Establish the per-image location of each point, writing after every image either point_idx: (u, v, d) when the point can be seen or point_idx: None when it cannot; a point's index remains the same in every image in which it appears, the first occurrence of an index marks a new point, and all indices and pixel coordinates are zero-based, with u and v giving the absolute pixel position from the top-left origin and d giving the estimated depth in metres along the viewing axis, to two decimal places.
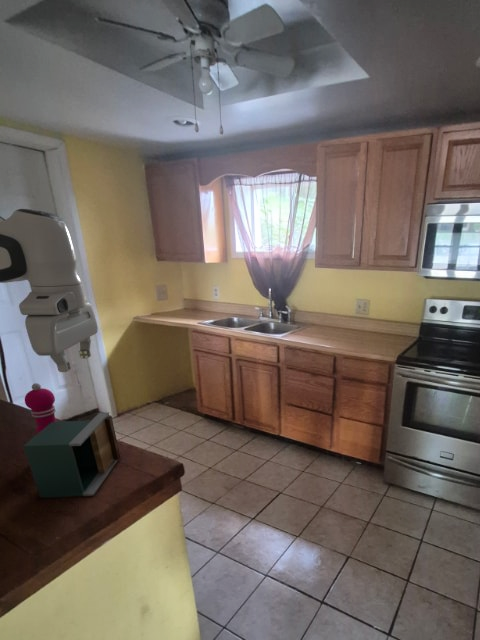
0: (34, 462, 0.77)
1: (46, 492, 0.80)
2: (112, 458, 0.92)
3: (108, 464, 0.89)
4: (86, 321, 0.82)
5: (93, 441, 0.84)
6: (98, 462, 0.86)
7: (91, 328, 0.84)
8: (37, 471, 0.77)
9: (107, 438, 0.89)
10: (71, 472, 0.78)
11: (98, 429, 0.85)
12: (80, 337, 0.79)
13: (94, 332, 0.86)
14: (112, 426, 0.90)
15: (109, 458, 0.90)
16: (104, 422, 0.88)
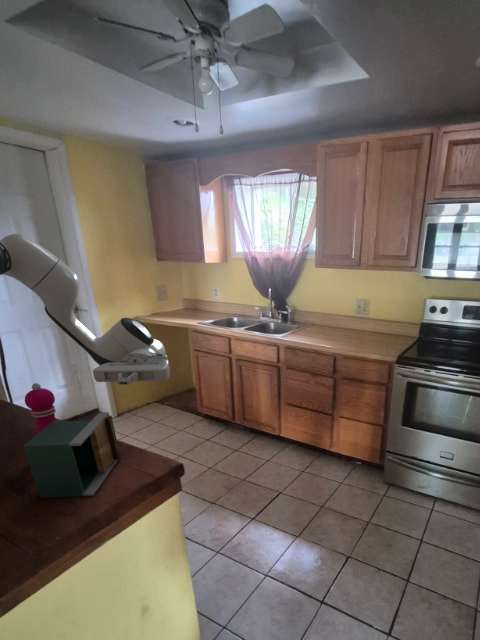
0: (34, 462, 0.77)
1: (46, 492, 0.80)
2: (112, 458, 0.92)
3: (108, 464, 0.89)
4: None
5: (93, 441, 0.84)
6: (98, 462, 0.86)
7: None
8: (37, 471, 0.77)
9: (107, 438, 0.89)
10: (71, 472, 0.78)
11: (98, 429, 0.85)
12: None
13: (103, 381, 1.04)
14: (112, 426, 0.90)
15: (109, 458, 0.90)
16: (104, 422, 0.88)
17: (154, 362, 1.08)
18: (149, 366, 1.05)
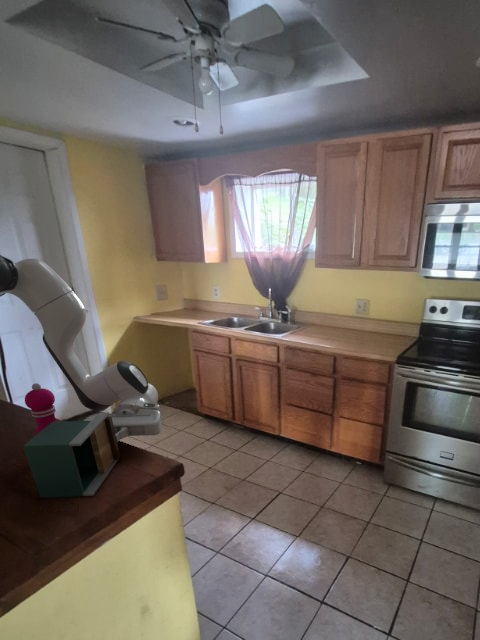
0: (34, 462, 0.77)
1: (46, 492, 0.80)
2: (112, 458, 0.92)
3: (107, 464, 0.89)
4: None
5: (93, 441, 0.84)
6: (98, 462, 0.86)
7: None
8: (37, 471, 0.77)
9: (107, 438, 0.89)
10: (71, 472, 0.78)
11: (98, 429, 0.84)
12: None
13: None
14: (112, 426, 0.90)
15: (109, 458, 0.90)
16: (104, 422, 0.88)
17: (145, 414, 1.01)
18: (140, 419, 0.98)
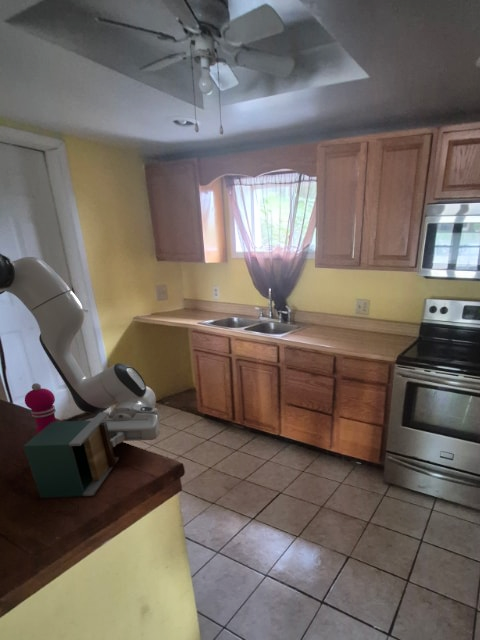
0: (34, 462, 0.77)
1: (46, 492, 0.80)
2: (107, 465, 0.89)
3: (102, 471, 0.86)
4: None
5: (87, 448, 0.81)
6: (92, 469, 0.83)
7: None
8: (37, 471, 0.77)
9: (102, 444, 0.86)
10: (71, 472, 0.78)
11: (92, 436, 0.82)
12: None
13: None
14: (107, 432, 0.87)
15: (104, 465, 0.87)
16: (99, 428, 0.85)
17: (143, 418, 0.98)
18: (137, 424, 0.95)
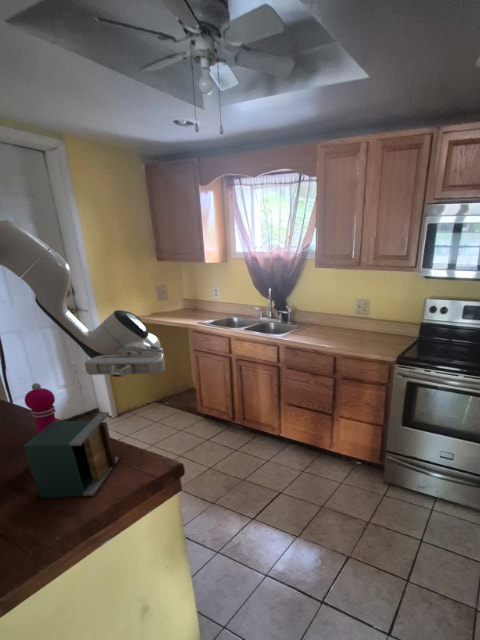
0: (34, 462, 0.77)
1: (46, 492, 0.80)
2: (107, 465, 0.89)
3: (102, 471, 0.86)
4: None
5: (87, 448, 0.81)
6: (92, 469, 0.83)
7: None
8: (37, 471, 0.77)
9: (102, 444, 0.86)
10: (71, 472, 0.78)
11: (92, 436, 0.82)
12: None
13: None
14: (107, 432, 0.87)
15: (104, 465, 0.87)
16: (99, 428, 0.85)
17: (149, 355, 1.05)
18: (143, 359, 1.02)
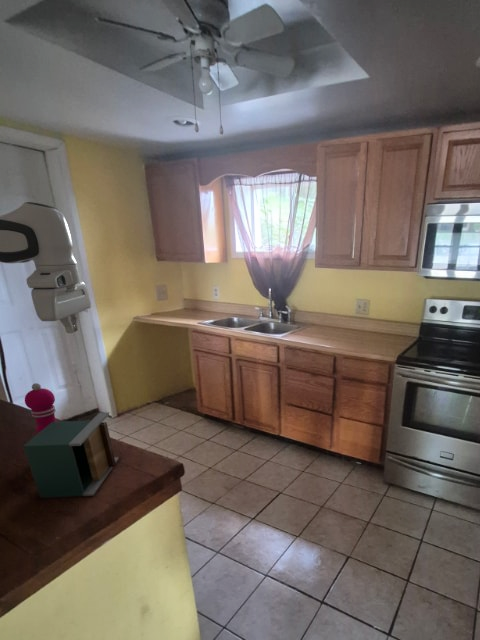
0: (34, 462, 0.77)
1: (46, 492, 0.80)
2: (107, 465, 0.89)
3: (102, 471, 0.86)
4: (81, 296, 0.99)
5: (87, 448, 0.81)
6: (92, 469, 0.83)
7: (85, 303, 1.01)
8: (37, 471, 0.77)
9: (102, 444, 0.86)
10: (71, 472, 0.78)
11: (92, 436, 0.82)
12: (76, 309, 0.96)
13: (88, 307, 1.02)
14: (107, 432, 0.87)
15: (104, 465, 0.87)
16: (99, 428, 0.85)
17: None
18: None
